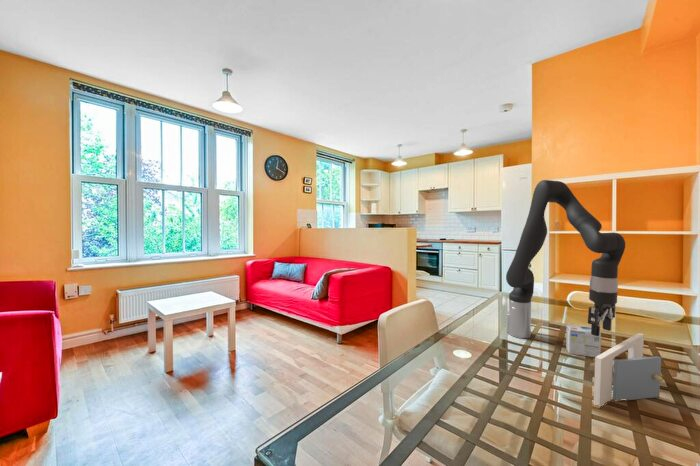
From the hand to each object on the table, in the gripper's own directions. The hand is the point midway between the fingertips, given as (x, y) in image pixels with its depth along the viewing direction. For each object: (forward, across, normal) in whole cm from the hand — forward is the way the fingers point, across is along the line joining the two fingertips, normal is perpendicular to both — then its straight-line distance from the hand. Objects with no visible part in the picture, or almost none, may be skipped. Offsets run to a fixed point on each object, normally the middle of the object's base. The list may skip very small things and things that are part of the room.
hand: (601, 332), depth 104 cm
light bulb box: (+17, -15, -12) cm, 25 cm away
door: (+16, +5, +13) cm, 21 cm away
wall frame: (+16, +4, +7) cm, 19 cm away
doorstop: (+17, 0, +5) cm, 17 cm away
